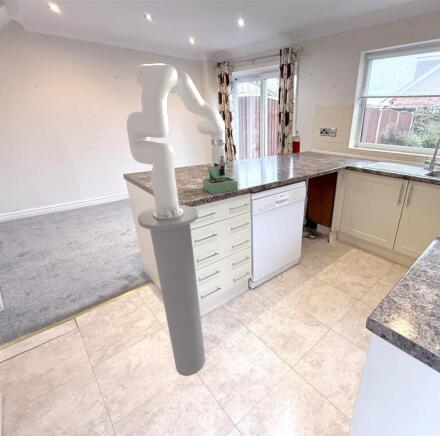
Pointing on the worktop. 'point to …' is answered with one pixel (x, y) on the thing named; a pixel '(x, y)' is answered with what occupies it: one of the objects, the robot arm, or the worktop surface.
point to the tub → (220, 185)
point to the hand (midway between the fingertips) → (219, 173)
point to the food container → (216, 174)
